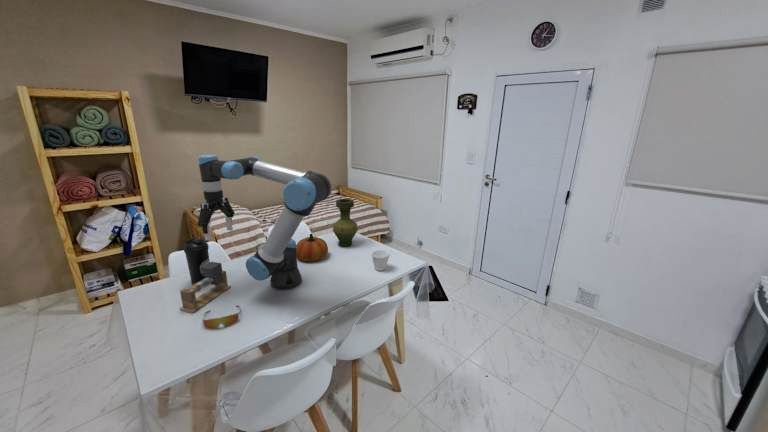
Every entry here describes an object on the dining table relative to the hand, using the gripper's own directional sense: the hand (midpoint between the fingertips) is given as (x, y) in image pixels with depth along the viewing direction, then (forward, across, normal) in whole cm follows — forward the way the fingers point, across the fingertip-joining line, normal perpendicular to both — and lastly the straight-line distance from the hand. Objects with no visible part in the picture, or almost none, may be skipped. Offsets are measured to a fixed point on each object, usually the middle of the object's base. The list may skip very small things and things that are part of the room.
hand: (219, 234), depth 145 cm
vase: (+27, -66, +36) cm, 80 cm away
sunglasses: (+27, +22, +17) cm, 39 cm away
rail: (+26, +12, 0) cm, 29 cm away
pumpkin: (+27, -42, +24) cm, 55 cm away
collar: (+21, +7, 0) cm, 22 cm away
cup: (+27, -40, +67) cm, 83 cm away
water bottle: (+26, +2, -13) cm, 30 cm away
